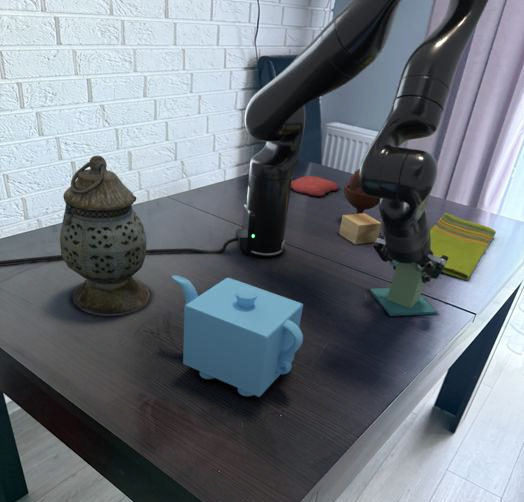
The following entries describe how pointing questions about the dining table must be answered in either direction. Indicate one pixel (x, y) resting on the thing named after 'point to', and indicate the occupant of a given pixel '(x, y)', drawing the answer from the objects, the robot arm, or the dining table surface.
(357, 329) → the dining table surface
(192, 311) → the teapot
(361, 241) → the birch block
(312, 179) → the patty
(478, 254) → the dish towel
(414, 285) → the green block
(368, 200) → the ice cream bowl
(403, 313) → the mat
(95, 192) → the lantern
